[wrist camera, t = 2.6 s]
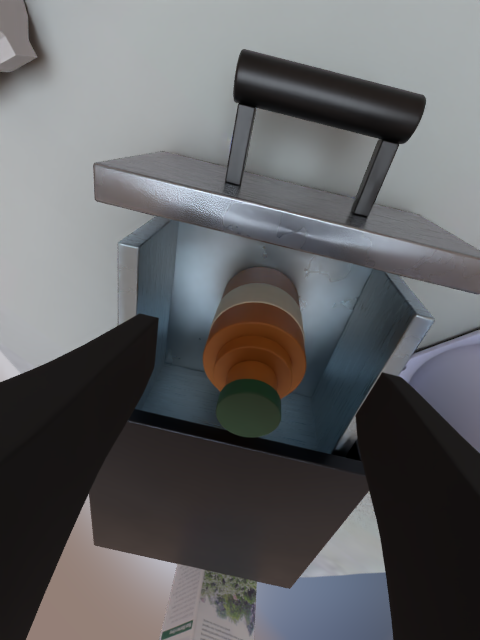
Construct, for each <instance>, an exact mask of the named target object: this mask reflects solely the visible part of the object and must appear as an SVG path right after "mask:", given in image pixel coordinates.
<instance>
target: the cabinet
mask: <svg viewBox="0 0 480 640" xmlns="http://www.w3.org/2000/svg"><path fill="white" fill-rule="evenodd" d="M368 491H369V487H368V483H367V479H366V475H365V471H364V467H363V463H362V459H361V454H360V450H359V446H358V438H357V440H356V441H355V443H354V444H353V446H352V447H351V449H350V450H349V452H348V453H347V455H346V456H345V457H341V456H337V455H333V454H328V453H324V452H320V451H315V450H311V449H307V448H302V447H298V446H294V445H289V444H285V443H281V442H276V441H272V440H268V439H263V438H259V437H243V436H239V435H236V434H233V433H231V432H229V431H228V430H225V429H220V428H216V427H212V426H207V425H203V424H199V423H194V422H190V421H186V420H181V419H177V418H173V417H168V416H164V415H160V414H155V413H151V412H147V411H142V410H138V409H134V411H133V413H132V414H131V416H130V418H129V419H128V421H127V423H126V425H125V426H124V428H123V430H122V431H121V433H120V435H119V437H118V438H117V440H116V442H115V443H114V445H113V447H112V449H111V450H110V452H109V454H108V455H107V457H106V459H105V461H104V463H103V465H102V467H101V469H100V470H99V472H98V474H97V477H96V479H95V481H94V483H93V485H92V487H91V489H90V492H89V498H90V508H91V519H92V529H93V539H94V545H96V546H100V547H105V548H109V549H113V550H118V551H122V552H127V553H132V554H136V555H140V556H145V557H149V558H154V559H158V560H163V561H167V562H172V563H176V564H181V565H185V566H190V567H194V568H199V569H203V570H208V571H212V572H217V573H221V574H226V575H230V576H235V577H239V578H244V579H248V580H253V581H257V582H262V583H266V584H271V585H276V586H281V587H284V588H289V589H290V588H291V587H292V585H293V584H294V583H295V582H296V580H297V579H298V578H299V577H300V576H301V574H302V573H303V572H304V571H305V570H306V568H307V567H308V566H309V565H310V563H311V562H312V561H313V560H314V558H315V557H316V556H317V555H318V553H319V552H320V551H321V550H322V548H323V547H324V546H325V545H326V543H327V542H328V541H329V540H330V539H331V537H332V536H333V535H334V534H335V532H336V531H337V530H338V529H339V527H340V526H341V525H342V524H343V522H344V521H345V520H346V519H347V517H348V516H349V515H350V514H351V512H352V511H353V510H354V509H355V508H356V506H357V505H358V504H359V503H360V501H361V500H362V499H363V498H364V496H365V495H366V494H367V493H368Z"/></svg>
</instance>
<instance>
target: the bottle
mask: <svg viewBox="0 0 480 640" xmlns="http://www.w3.org/2000/svg"><path fill="white" fill-rule="evenodd" d="M203 366H204V370H205V373H206V375H207V377H208V379H209V380H210V381H211V383H212V384H213V385H214V386H215V387H216V388H217V389H218V390H219V391H220V394H219V398H218V402H217V406H216V416H217V419H218V421H219V423H220V424H221V425H222V426H223V427H224V428H225V429H226V430H228V431H229V432H231V433H233V434H236V435H239V436H243V437H261V436H265V435H267V434H269V433H271V432H273V431H274V430H275V429H276V428H277V427H278V425H279V424H280V421H281V399H282V398H283V397H285V396H287V395H288V394H290V393H291V392H293V391H294V390H295V389H296V388H297V387H298V385H299V384H300V383H301V381H302V379H303V377H304V375H305V372H306V355H305V337H304V329H303V321H302V314H301V311H300V304H299V297H298V292H297V289H296V287H295V285H294V284H293V283H292V281H291V280H290V279H289V278H288V277H287V276H286V275H284V274H283V273H281V272H279V271H277V270H275V269H272V268H267V267H253V268H248V269H245V270H243V271H241V272H239V273H238V274H236V275H235V276H234V277H233V278H232V279H231V280H230V281H229V282H228V284H227V285H226V287H225V290H224V293H223V296H222V299H221V301H220V303H219V305H218V307H217V310H216V313H215V316H214V319H213V322H212V324H211V327H210V331H209V336H208V339H207V342H206V345H205V348H204V352H203Z"/></svg>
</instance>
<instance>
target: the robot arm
mask: <svg viewBox="0 0 480 640" xmlns="http://www.w3.org/2000/svg"><path fill="white" fill-rule="evenodd" d="M158 322H159V318H157V317H153V316H149V315H145V314H141V313H139V314H138V315H136V316H134V317H132V318H130V319H129V320H127V321H125V322H124V323H122V324H120V325H118V326H117V327H115V328H113V329H111V330H110V331H108V332H106V333H105V334H103V335H101V336H99V337H97V338H96V339H94V340H92V341H90V342H88V343H87V344H85V345H83V346H81V347H79V348H77V349H75V350H73V351H71V352H69V353H67V354H65V355H63V356H61V357H59V358H57V359H55V360H53V361H50V362H48V363H46V364H44V365H42V366H39V367H37V368H35V369H32V370H30V371H28V372H25V373H23V374H20V375H18V376H15V377H13V378H10V379H8V380H5V381H3V382H0V640H26V638H27V635H28V633H29V630H30V628H31V626H32V623H33V621H34V618H35V616H36V613H37V611H38V608H39V606H40V603H41V601H42V599H43V596H44V594H45V591H46V589H47V587H48V584H49V582H50V580H51V577H52V575H53V573H54V570H55V568H56V566H57V563H58V561H59V559H60V556H61V554H62V552H63V549H64V547H65V545H66V543H67V540H68V538H69V536H70V533H71V531H72V529H73V527H74V524H75V522H76V520H77V518H78V515H79V513H80V511H81V509H82V507H83V505H84V502H85V500H86V498H87V496H88V494H89V492H90V489H91V487H92V485H93V483H94V481H95V479H96V477H97V474H98V472H99V470H100V469H101V467H102V465H103V463H104V461H105V459H106V457H107V455H108V454H109V452H110V450H111V449H112V447H113V445H114V443H115V442H116V440H117V438H118V437H119V435H120V433H121V431H122V430H123V428H124V426H125V425H126V423H127V421H128V419H129V418H130V416H131V414H132V413H133V411H134V409H135V407H136V406H137V404H138V402H139V400H140V399H141V397H142V395H143V393H144V391H145V388H146V386H147V384H148V381H149V379H150V377H151V374H152V372H153V369H154V367H155V355H156V344H157V333H158ZM355 417H356V429H357V438H358V446H359V450H360V454H361V459H362V463H363V467H364V471H365V475H366V479H367V483H368V487H369V491H370V495H371V499H372V503H373V507H374V511H375V515H376V519H377V524H378V528H379V533H380V538H381V544H382V551H383V558H384V564H385V571H386V578H387V586H388V594H389V602H390V611H391V618H392V629H393V639H394V640H480V330H477V331H474V332H471V333H469V334H466V335H463V336H460V337H458V338H455V339H452V340H449V341H447V342H444V343H441V344H439V345H436V346H433V347H430V348H428V349H425V350H422V351H419V352H417V353H414V354H413V355H412V356H411V358H410V359H409V361H408V362H407V364H406V365H405V367H404V368H403V370H402V371H401V373H400V374H399V376H395V375H391V374H387V373H383V372H382V373H381V375H380V377H379V378H378V380H377V381H376V383H375V385H374V386H373V388H372V389H371V391H370V393H369V394H368V396H367V397H366V399H365V401H364V402H363V404H362V405H361V407H360V409H359V410H358V412H357V413H356V415H355Z"/></svg>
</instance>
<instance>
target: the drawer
mask: <svg viewBox="0 0 480 640" xmlns="http://www.w3.org/2000/svg"><path fill="white" fill-rule="evenodd" d="M233 97H234V101H235V102H236V103H239V104H238V108H237V114H236V120H235V126H234V131H233V137H232V143H231V149H230V155H229V161H228V166H227V167H226V166H222V165H218V164H213V163H209V162H205V161H201V160H197V159H193V158H189V157H185V156H181V155H177V154H173V153H169V152H165V151H160V152H154V153H149V154H143V155H137V156H131V157H125V158H119V159H114V160H108V161H102V162H96V163H94V165H93V168H94V193H95V200H96V201H97V202H101V203H105V204H109V205H113V206H117V207H122V208H126V209H130V210H134V211H138V212H142V213H146V214H150V215H154V216H156V217H154V218H153V219H151V220H150V221H148V222H147V223H146V224H144V225H143V226H141V227H140V228H138V229H137V230H135V231H134V232H133V233H131V234H130V235H128V236H127V237H125V238H124V239H122V240H121V241H120V242H118V325H120V324H122V323H124V322H125V321H127V320H129V319H130V318H132V317H134V316H136V315H138V314H139V313H141V314H145V315H149V316H153V317H157V318H159V322H158V333H157V344H156V355H155V367H154V369H153V372H152V374H151V377H150V379H149V381H148V384H147V386H146V388H145V391H144V393H143V395H142V397H141V399H140V400H139V402H138V404H137V406H136V407H135V409H138V410H142V411H147V412H151V413H155V414H160V415H164V416H168V417H173V418H177V419H181V420H186V421H190V422H194V423H199V424H203V425H207V426H212V427H216V428H220V429H225V428H224V427H223V426H222V425H221V424H220V423H219V421H218V419H217V416H216V406H217V402H218V398H219V394H220V391H219V390H218V389H217V388H216V387H215V386H214V385H213V384H212V383H211V381H210V380H209V379H208V377H207V375H206V373H205V370H204V366H203V352H204V348H205V345H206V342H207V339H208V336H209V331H210V327H211V324H212V322H213V319H214V316H215V313H216V310H217V307H218V305H219V303H220V301H221V299H222V296H223V293H224V290H225V287H226V285H227V284H228V282H229V281H230V280H231V279H232V278H233V277H234V276H235V275H236V274H238V273H239V272H241V271H243V270H245V269H248V268H253V267H267V268H272V269H275V270H277V271H279V272H281V273H283V274H284V275H286V276H287V277H288V278H289V279H290V280H291V281H292V283H293V284H294V285H295V287H296V289H297V292H298V297H299V304H300V311H301V314H302V321H303V329H304V337H305V355H306V372H305V375H304V377H303V379H302V381H301V383H300V384H299V385H298V387H297V388H296V389H295V390H294V391H293V392H291V393H290V394H288V395H287V396H285V397H283V398H282V399H281V421H280V424H279V425H278V427H277V428H276V429H275V430H274V431H273V432H271V433H269V434H267V435H265V436H261V437H259V438H263V439H268V440H272V441H276V442H281V443H285V444H289V445H294V446H298V447H302V448H307V449H311V450H315V451H320V452H324V453H328V454H333V455H337V456H341V457H345V456H346V455H347V453H348V452H349V450H350V449H351V447H352V446H353V444H354V443H355V441H356V440H357V429H356V417H355V415H356V413H357V412H358V410H359V409H360V407H361V405H362V404H363V402H364V401H365V399H366V397H367V396H368V394H369V393H370V391H371V389H372V388H373V386H374V385H375V383H376V381H377V380H378V378H379V377H380V375H381V373H382V372H383V373H387V374H391V375H395V376H399V374H400V373H401V371H402V370H403V368H404V367H405V365H406V364H407V362H408V361H409V359H410V358H411V356H412V355H413V353H414V352H415V350H416V349H417V347H418V345H419V344H420V342H421V341H422V339H423V338H424V336H425V335H426V333H427V332H428V330H429V329H430V327H431V326H432V324H433V323H434V321H435V318H434V317H433V316H432V315H431V314H430V312H429V311H428V310H427V309H426V308H425V306H424V305H423V304H422V303H421V302H420V300H419V299H418V298H417V297H416V296H415V294H414V293H413V292H412V291H411V290H410V288H409V287H408V286H407V285H406V284H405V282H404V281H403V280H402V279H401V278H400V276H404V277H408V278H412V279H416V280H420V281H424V282H428V283H433V284H437V285H441V286H445V287H449V288H453V289H457V290H461V291H465V292H469V293H474V294H480V250H478V249H476V248H475V247H473V246H471V245H470V244H468V243H466V242H465V241H463V240H461V239H460V238H458V237H456V236H454V235H453V234H451V233H449V232H448V231H446V230H444V229H443V228H441V227H439V226H438V225H436V224H434V223H433V222H431V221H429V220H428V219H426V218H424V217H422V216H421V215H419V214H415V213H410V212H406V211H402V210H398V209H394V208H390V207H386V206H382V205H378V204H374V202H375V200H376V198H377V195H378V193H379V191H380V188H381V186H382V184H383V181H384V179H385V177H386V174H387V172H388V170H389V167H390V165H391V163H392V160H393V158H394V156H395V153H396V151H397V149H398V146H399V144H404V143H405V142H407V141H408V140H409V138H410V137H411V136H412V134H413V133H414V131H415V130H416V128H417V126H418V124H419V122H420V120H421V118H422V115H423V112H424V109H425V104H426V98H425V97H424V95H421V94H417V93H413V92H409V91H406V90H402V89H398V88H394V87H390V86H386V85H382V84H378V83H374V82H370V81H367V80H363V79H359V78H355V77H351V76H347V75H343V74H339V73H335V72H332V71H328V70H324V69H320V68H316V67H312V66H308V65H304V64H300V63H296V62H293V61H289V60H285V59H281V58H277V57H273V56H269V55H265V54H261V53H258V52H254V51H250V50H246V49H244V50H242V51H241V53H240V55H239V59H238V63H237V68H236V73H235V80H234V91H233ZM255 107H256V108H260V109H264V110H268V111H272V112H276V113H280V114H284V115H288V116H292V117H296V118H300V119H304V120H307V121H311V122H315V123H319V124H323V125H327V126H331V127H335V128H339V129H343V130H347V131H351V132H355V133H359V134H363V135H367V136H371V137H375V138H379V140H378V142H377V144H376V147H375V149H374V152H373V155H372V157H371V160H370V162H369V165H368V167H367V170H366V172H365V175H364V177H363V180H362V183H361V185H360V188H359V190H358V193H357V195H356V198H355V199H354V198H350V197H346V196H342V195H338V194H334V193H330V192H326V191H322V190H318V189H314V188H310V187H306V186H302V185H298V184H294V183H290V182H286V181H282V180H278V179H274V178H270V177H266V176H262V175H258V174H254V173H250V172H246V171H244V170H245V165H246V160H247V155H248V150H249V144H250V139H251V134H252V129H253V124H254V119H255V114H256V108H255ZM399 275H400V276H399ZM225 430H226V429H225Z"/></svg>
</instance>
